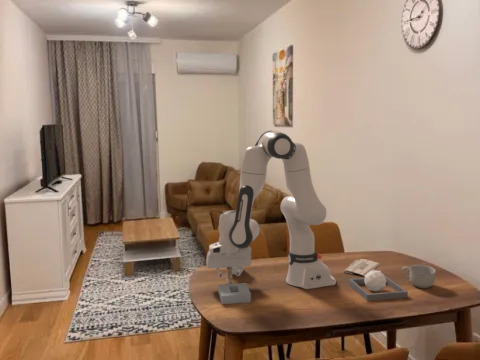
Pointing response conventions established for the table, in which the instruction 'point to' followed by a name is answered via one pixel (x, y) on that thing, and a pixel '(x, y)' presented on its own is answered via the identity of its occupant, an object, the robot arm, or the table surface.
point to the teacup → (420, 275)
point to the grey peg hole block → (234, 293)
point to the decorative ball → (375, 280)
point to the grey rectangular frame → (378, 296)
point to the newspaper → (361, 267)
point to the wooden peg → (229, 275)
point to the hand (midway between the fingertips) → (229, 276)
